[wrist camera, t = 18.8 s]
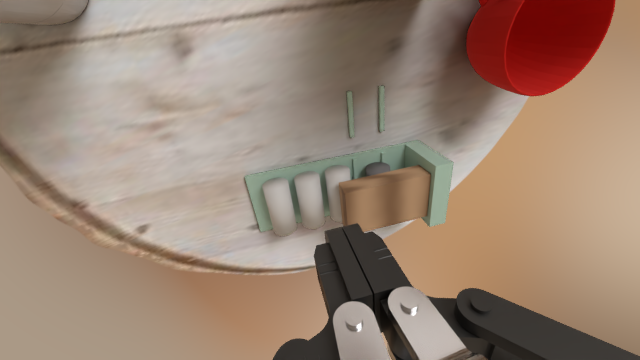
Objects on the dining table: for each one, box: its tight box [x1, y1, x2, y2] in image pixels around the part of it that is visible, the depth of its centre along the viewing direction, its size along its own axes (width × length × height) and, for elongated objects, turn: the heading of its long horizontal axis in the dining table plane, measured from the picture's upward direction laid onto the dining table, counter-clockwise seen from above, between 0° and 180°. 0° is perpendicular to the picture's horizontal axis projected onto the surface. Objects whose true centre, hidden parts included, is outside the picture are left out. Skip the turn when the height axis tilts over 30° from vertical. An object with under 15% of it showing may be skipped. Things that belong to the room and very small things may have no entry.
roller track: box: [245, 140, 454, 236], centre depth 39 cm, size 27×10×9 cm, turn 97°
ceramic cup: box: [466, 0, 615, 96], centre depth 32 cm, size 13×17×10 cm
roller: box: [366, 162, 390, 177], centre depth 42 cm, size 4×6×4 cm, turn 7°
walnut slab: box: [339, 165, 431, 232], centre depth 38 cm, size 12×7×3 cm, turn 97°
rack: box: [347, 85, 384, 138], centre depth 38 cm, size 5×6×1 cm
